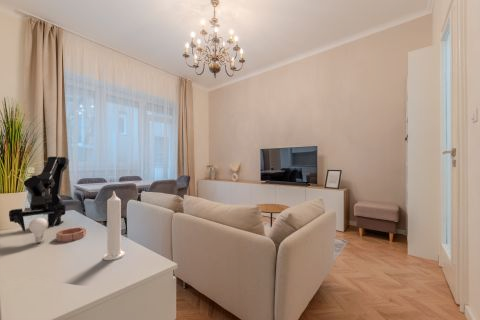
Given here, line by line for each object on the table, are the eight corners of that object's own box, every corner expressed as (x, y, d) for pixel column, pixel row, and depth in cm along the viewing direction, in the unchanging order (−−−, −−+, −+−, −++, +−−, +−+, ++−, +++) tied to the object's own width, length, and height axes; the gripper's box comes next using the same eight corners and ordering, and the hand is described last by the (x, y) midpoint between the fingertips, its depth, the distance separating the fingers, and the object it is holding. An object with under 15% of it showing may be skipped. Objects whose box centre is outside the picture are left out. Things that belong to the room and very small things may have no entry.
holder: (63, 235, 107) (63, 228, 107) (88, 232, 110) (88, 226, 110) (52, 243, 97) (52, 236, 97) (80, 240, 100) (80, 233, 100)
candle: (115, 261, 81) (115, 193, 80) (98, 259, 82) (98, 192, 81) (128, 253, 87) (128, 190, 87) (113, 251, 89) (113, 189, 88)
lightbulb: (52, 240, 100) (52, 216, 100) (38, 246, 94) (38, 220, 94) (39, 239, 101) (39, 215, 101) (24, 245, 94) (24, 219, 94)
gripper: (9, 191, 94) (5, 222, 86) (65, 187, 106) (66, 214, 98) (11, 206, 100) (8, 237, 92) (64, 200, 112) (65, 228, 104)
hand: (38, 228), depth 96 cm, fingers open, 9 cm apart
